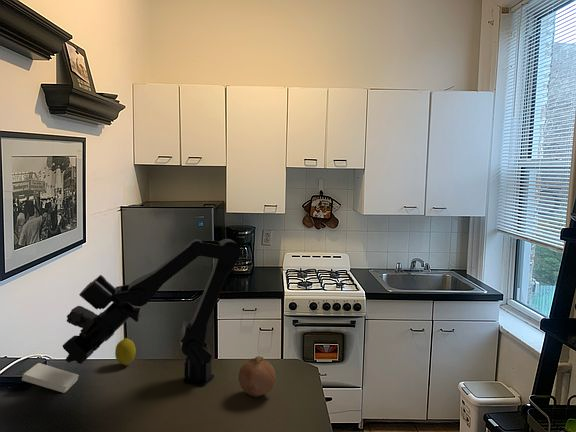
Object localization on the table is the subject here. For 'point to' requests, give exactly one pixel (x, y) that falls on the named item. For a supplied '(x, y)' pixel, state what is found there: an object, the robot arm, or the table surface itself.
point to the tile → (50, 377)
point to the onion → (257, 376)
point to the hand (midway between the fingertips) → (67, 360)
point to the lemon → (125, 351)
